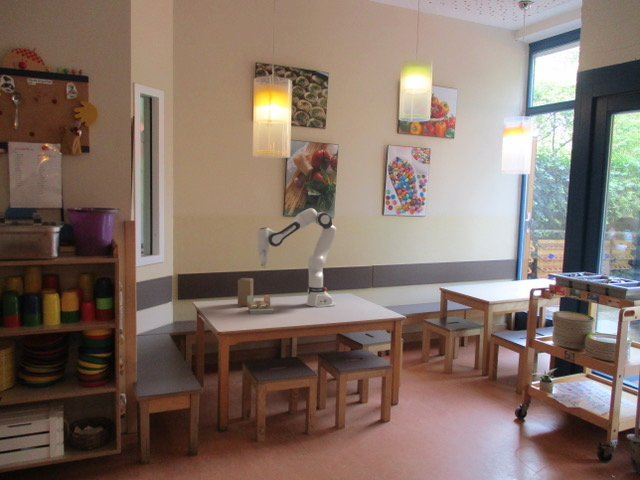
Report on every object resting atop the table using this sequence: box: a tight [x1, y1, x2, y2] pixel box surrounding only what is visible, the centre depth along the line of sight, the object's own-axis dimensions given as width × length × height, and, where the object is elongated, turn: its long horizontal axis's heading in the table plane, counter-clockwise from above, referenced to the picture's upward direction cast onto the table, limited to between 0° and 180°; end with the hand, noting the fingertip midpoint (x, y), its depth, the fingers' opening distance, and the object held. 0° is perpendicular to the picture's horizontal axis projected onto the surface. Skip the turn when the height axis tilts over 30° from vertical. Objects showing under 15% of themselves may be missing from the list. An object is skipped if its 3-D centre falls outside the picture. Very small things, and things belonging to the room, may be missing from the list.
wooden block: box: [237, 277, 254, 307], centre depth 370 cm, size 10×10×20 cm
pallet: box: [247, 300, 272, 311], centre depth 350 cm, size 16×6×5 cm, turn 103°
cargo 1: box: [247, 295, 254, 302], centre depth 348 cm, size 4×4×4 cm
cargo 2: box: [263, 294, 271, 302], centre depth 351 cm, size 4×4×4 cm
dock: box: [248, 304, 274, 315], centre depth 350 cm, size 16×12×3 cm
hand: (263, 267), depth 370 cm, fingers open, 8 cm apart
